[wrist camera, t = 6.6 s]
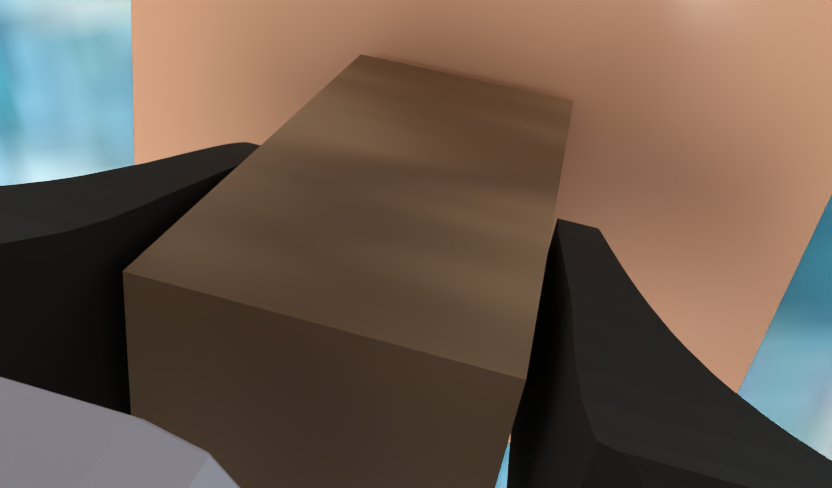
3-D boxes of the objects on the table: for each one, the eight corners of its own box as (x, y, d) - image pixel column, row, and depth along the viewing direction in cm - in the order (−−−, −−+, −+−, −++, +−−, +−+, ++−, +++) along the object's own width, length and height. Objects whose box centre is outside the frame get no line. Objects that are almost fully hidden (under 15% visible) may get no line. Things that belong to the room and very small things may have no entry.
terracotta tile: (995, -181, 12) (1011, -182, 11) (687, 478, 18) (689, 494, 18) (140, -328, 13) (124, -334, 13) (148, 327, 20) (138, 338, 20)
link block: (573, 101, 14) (526, 379, 7) (524, 284, 16) (450, 637, 9) (361, 54, 14) (122, 270, 7) (340, 237, 16) (138, 538, 10)
